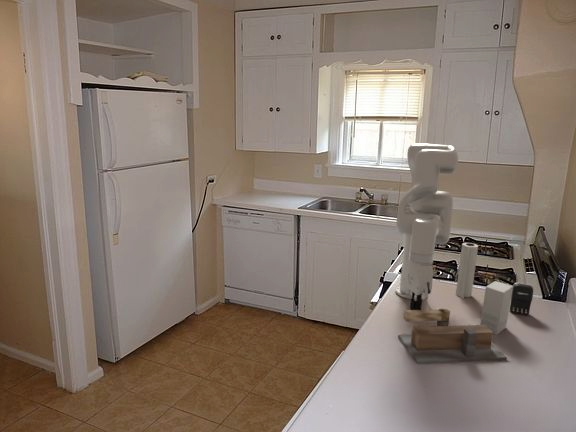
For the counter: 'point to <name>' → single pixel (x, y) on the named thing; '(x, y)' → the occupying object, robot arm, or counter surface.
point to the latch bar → (426, 315)
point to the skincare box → (496, 306)
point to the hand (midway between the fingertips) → (415, 310)
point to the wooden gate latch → (451, 344)
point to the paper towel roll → (466, 269)
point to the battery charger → (521, 298)
